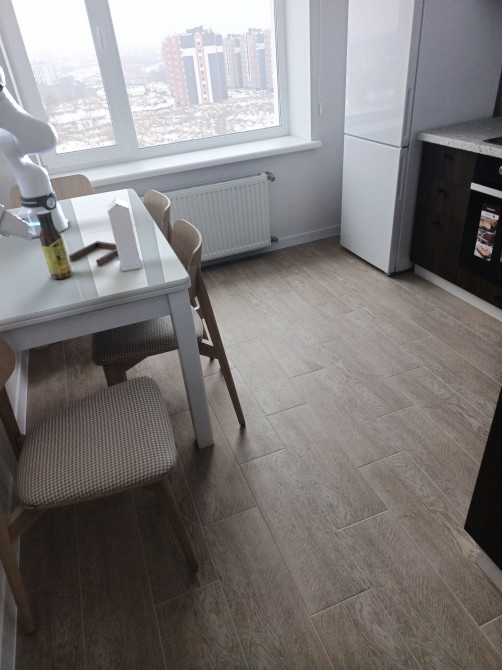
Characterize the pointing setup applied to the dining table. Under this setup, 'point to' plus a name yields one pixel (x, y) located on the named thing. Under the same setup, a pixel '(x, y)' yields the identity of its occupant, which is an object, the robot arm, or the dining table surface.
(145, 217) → the dining table surface
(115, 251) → the bottle bay
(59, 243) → the sauce bottle
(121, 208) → the milk
